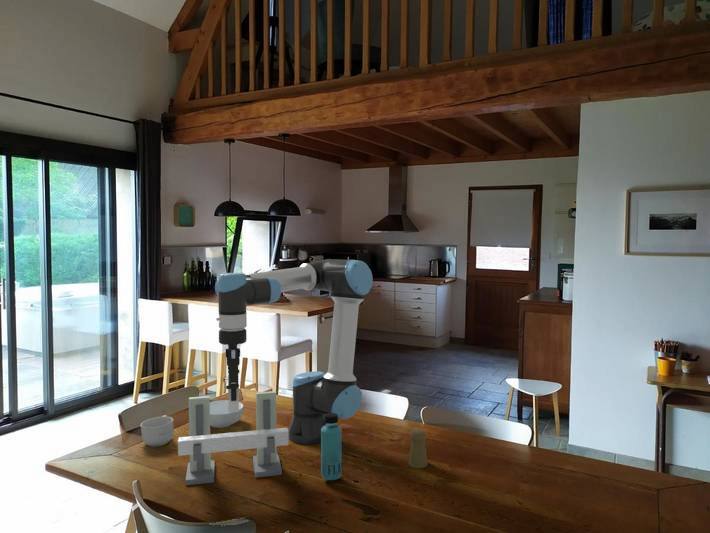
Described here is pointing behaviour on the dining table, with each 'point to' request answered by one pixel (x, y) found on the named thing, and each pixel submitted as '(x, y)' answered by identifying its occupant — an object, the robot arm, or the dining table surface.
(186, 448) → the hang rail
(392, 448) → the dining table surface
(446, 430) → the dining table surface
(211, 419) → the cereal bowl
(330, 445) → the beverage bottle
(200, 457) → the rail standards
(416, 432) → the green shaker
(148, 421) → the teacup
